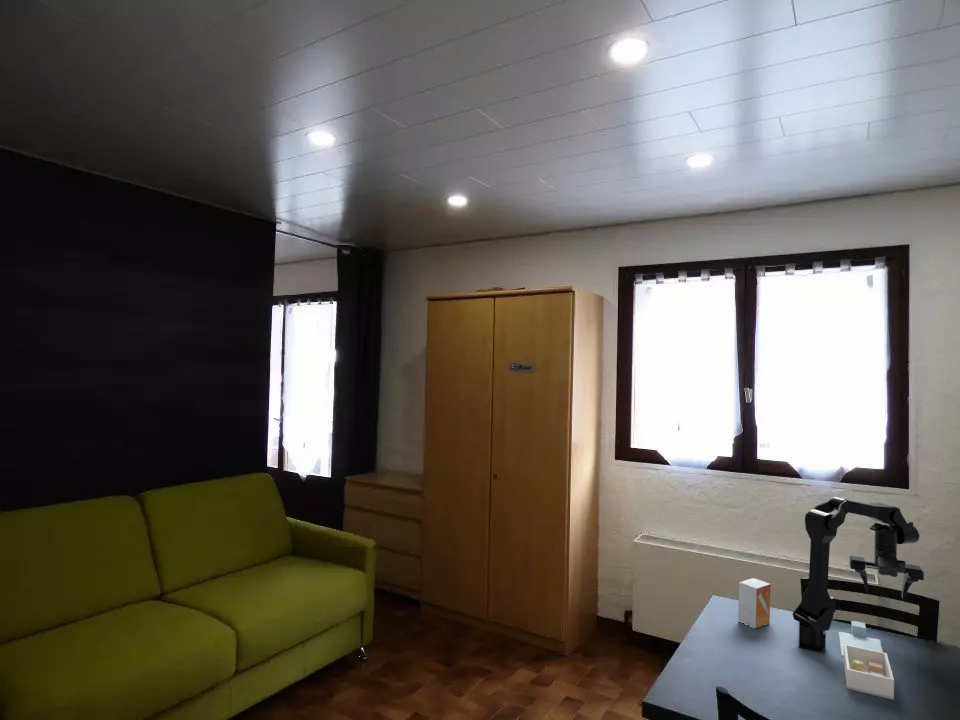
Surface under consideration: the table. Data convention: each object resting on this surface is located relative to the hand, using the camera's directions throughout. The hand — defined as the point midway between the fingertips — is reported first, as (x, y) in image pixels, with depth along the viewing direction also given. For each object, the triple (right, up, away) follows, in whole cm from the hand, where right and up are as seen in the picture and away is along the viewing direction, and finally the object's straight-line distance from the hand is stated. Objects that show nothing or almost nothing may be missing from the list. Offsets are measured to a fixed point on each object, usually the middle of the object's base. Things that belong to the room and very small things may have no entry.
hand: (884, 595), depth 183 cm
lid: (-12, -12, -8) cm, 19 cm away
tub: (-23, -12, -26) cm, 37 cm away
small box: (-38, -12, +7) cm, 40 cm away
